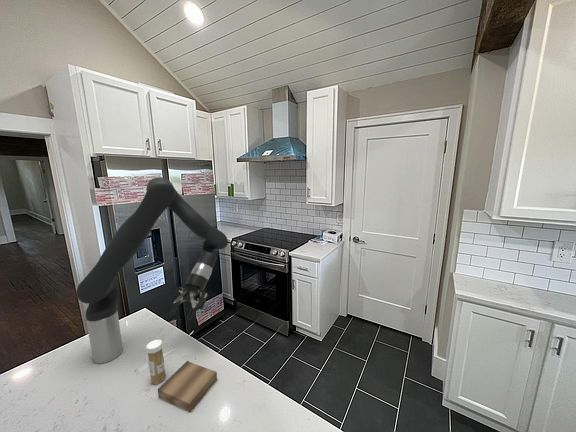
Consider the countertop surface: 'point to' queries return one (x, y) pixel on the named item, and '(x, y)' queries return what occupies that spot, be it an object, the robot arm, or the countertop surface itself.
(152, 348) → the sprinkles bottle
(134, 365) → the countertop surface
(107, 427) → the countertop surface
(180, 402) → the walnut dock
